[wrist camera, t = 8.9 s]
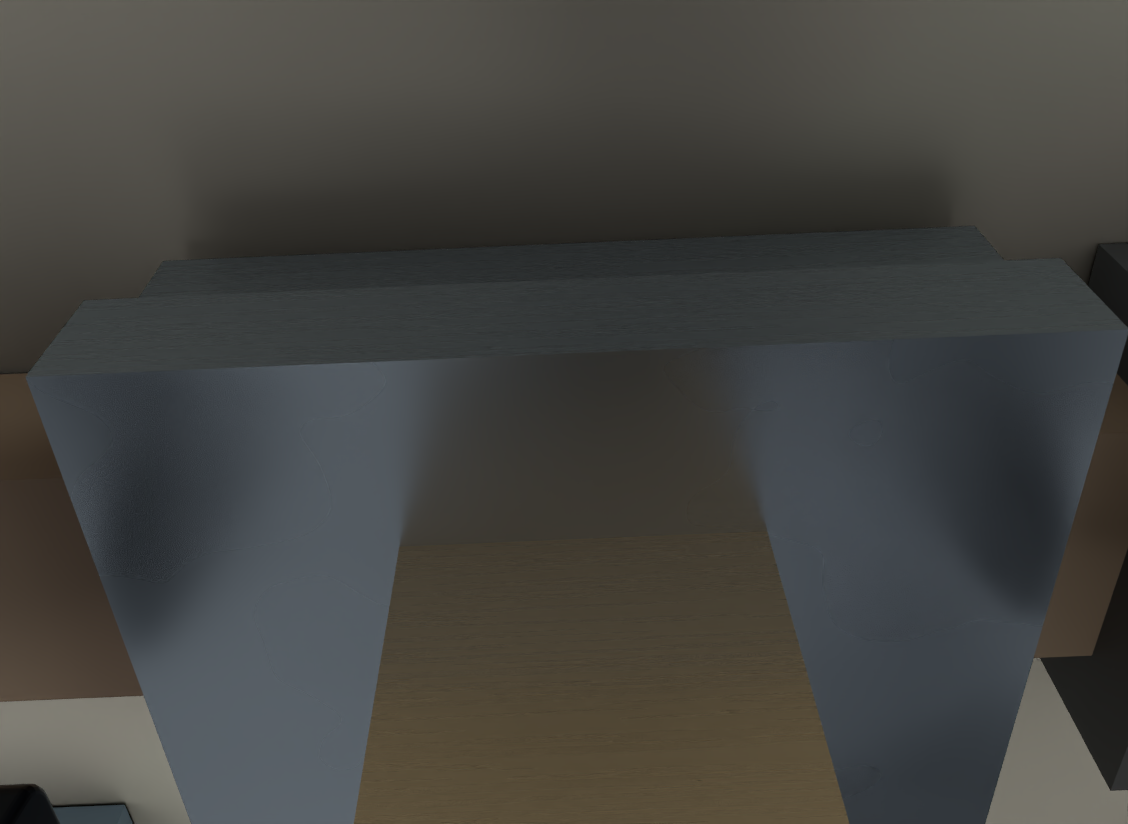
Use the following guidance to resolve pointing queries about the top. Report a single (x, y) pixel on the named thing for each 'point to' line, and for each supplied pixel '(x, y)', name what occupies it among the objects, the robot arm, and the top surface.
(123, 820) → the blue button housing
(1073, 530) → the rail
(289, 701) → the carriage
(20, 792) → the robot arm
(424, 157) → the top surface
